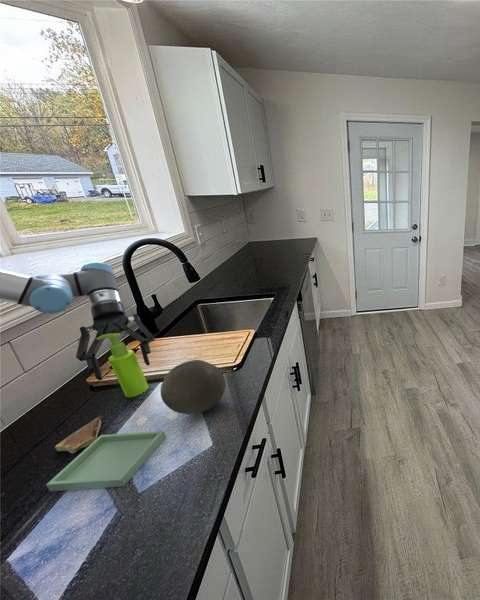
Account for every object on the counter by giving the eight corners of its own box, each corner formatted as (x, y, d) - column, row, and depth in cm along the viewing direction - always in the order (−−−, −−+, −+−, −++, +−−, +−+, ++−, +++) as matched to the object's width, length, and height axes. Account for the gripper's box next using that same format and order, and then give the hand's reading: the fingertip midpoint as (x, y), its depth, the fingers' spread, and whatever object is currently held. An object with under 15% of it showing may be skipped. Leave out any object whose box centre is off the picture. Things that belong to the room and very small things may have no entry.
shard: (102, 419, 86) (100, 414, 86) (124, 422, 85) (122, 417, 84) (55, 450, 77) (52, 445, 76) (79, 455, 75) (75, 449, 74)
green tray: (50, 491, 66) (45, 484, 65) (104, 440, 79) (101, 434, 78) (124, 486, 66) (120, 479, 66) (166, 436, 79) (163, 430, 78)
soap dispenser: (130, 386, 100) (105, 331, 92) (153, 384, 100) (129, 328, 93) (116, 398, 94) (88, 340, 87) (141, 396, 95) (115, 338, 88)
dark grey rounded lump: (183, 400, 92) (166, 356, 87) (235, 389, 96) (222, 346, 90) (164, 435, 80) (143, 386, 74) (225, 421, 83) (209, 374, 77)
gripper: (49, 312, 88) (64, 383, 83) (149, 292, 101) (168, 352, 95) (61, 323, 94) (76, 390, 88) (154, 302, 107) (172, 360, 101)
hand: (124, 371), depth 92 cm, fingers open, 10 cm apart
